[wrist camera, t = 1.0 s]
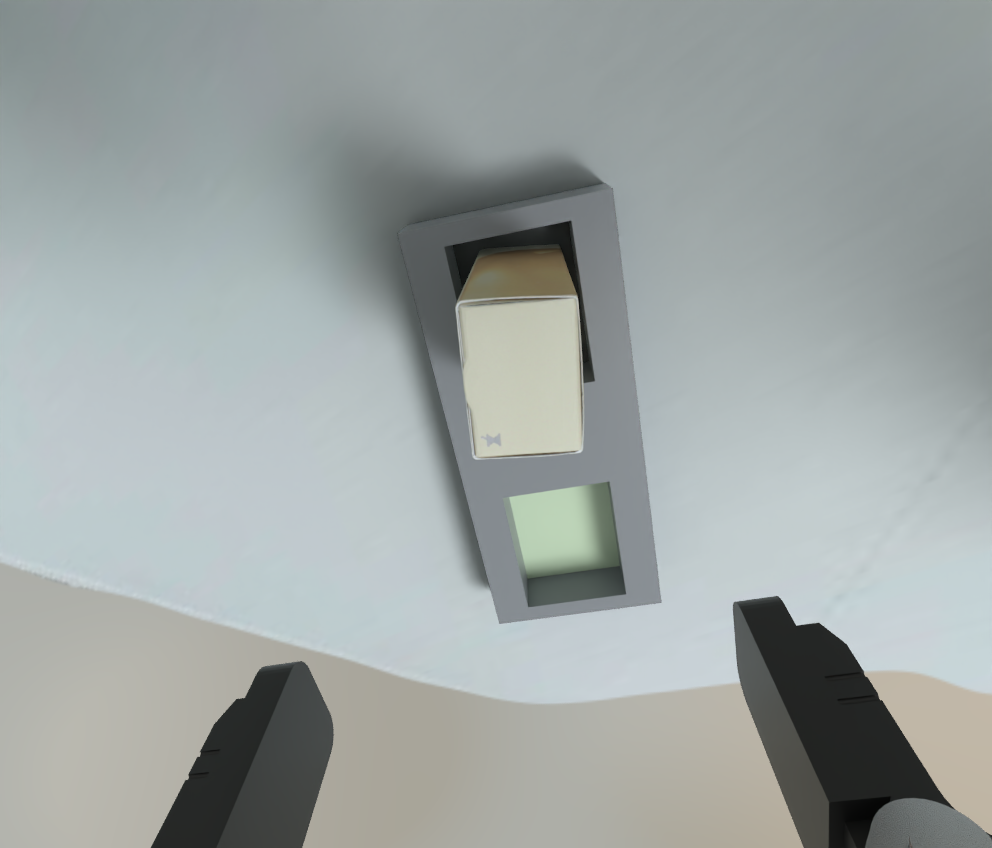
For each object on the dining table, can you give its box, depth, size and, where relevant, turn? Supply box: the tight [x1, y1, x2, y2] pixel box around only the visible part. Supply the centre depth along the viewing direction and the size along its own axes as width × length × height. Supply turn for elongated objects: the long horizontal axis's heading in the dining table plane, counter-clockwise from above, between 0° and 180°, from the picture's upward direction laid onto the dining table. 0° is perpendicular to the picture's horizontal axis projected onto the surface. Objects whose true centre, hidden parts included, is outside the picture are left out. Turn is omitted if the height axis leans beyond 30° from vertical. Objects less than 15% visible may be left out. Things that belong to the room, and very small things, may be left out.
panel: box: [397, 183, 661, 624], centre depth 35 cm, size 10×24×3 cm, turn 11°
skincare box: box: [455, 244, 584, 460], centre depth 28 cm, size 6×4×12 cm
